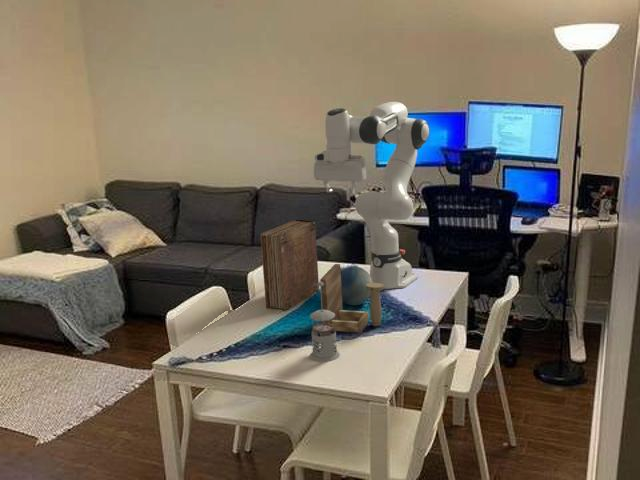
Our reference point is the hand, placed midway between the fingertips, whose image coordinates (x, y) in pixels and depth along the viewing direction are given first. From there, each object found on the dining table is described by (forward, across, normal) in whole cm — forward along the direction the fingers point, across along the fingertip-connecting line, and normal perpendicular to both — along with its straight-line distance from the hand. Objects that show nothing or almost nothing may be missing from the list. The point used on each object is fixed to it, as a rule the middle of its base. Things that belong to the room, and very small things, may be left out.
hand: (340, 192), depth 240 cm
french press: (+45, -12, +39) cm, 61 cm away
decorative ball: (+45, -1, -6) cm, 46 cm away
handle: (+45, -18, +10) cm, 50 cm away
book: (+45, +25, -1) cm, 52 cm away
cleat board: (+45, -8, +15) cm, 48 cm away
